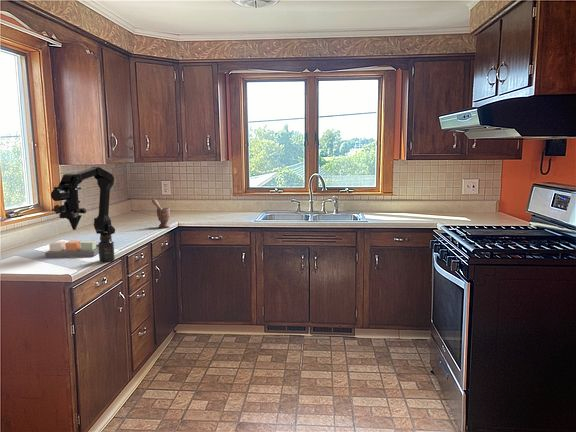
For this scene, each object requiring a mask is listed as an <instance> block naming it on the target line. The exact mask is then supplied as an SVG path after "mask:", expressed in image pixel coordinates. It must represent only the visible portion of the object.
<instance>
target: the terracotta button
mask: <svg viewBox="0 0 576 432" xmlns="http://www.w3.org/2000/svg"><path fill="white" fill-rule="evenodd" d="M81 241H82V240H68V241H67V242H65V248H66V251H78V250H80V249H81V243H82V242H81Z"/></svg>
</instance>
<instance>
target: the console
mask: <svg viewBox="0 0 576 432" xmlns="http://www.w3.org/2000/svg"><path fill="white" fill-rule="evenodd" d="M44 254H45V255H44V257H45V258H51V259H52V258H83V257H84V258H86V257H87V258H90V257H92V258H93V257H96V256H97V255H99V249H98V247H97V246H96V249H94V250H93V251H81V249H80V250H78V251H66V249H65V250H63V251H52V252H50V249H48V251H46V252H44Z"/></svg>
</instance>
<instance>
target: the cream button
mask: <svg viewBox="0 0 576 432" xmlns="http://www.w3.org/2000/svg"><path fill="white" fill-rule="evenodd" d="M65 243H66V241H65V240H60V241H58V240H57V241H52V242H50V243H48V244H49V245H48V246H49V250H50V252H52V251H63V250H65V249H66V248H65Z"/></svg>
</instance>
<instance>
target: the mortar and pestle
mask: <svg viewBox="0 0 576 432" xmlns="http://www.w3.org/2000/svg"><path fill="white" fill-rule="evenodd" d="M151 202H152V204H153V205H154V206H155V207H156V216H157V219H158V221H159V222H160V224H158V228H159V229H168V228H170V227H171V225H170V224H169V223H168V222H169V220H170V217H171V208H170V207H161V205H160V204H159V202H158V200H157V199H155V198H153V199H152V200H151Z"/></svg>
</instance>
